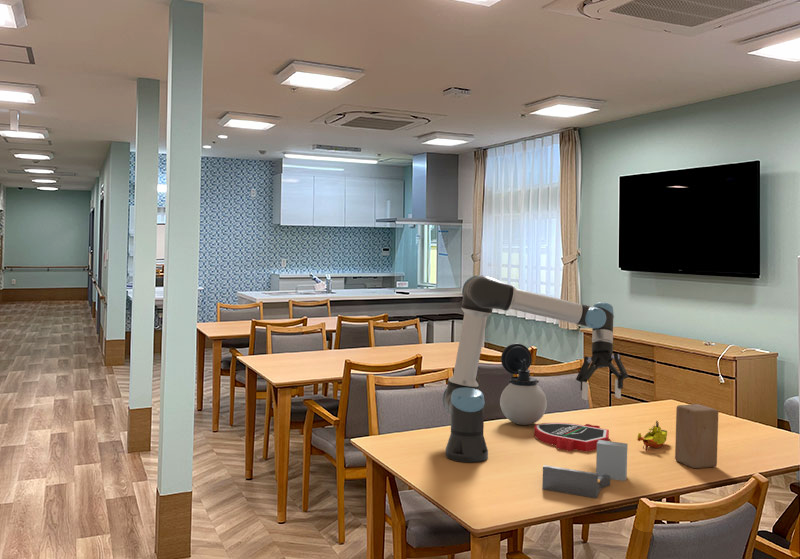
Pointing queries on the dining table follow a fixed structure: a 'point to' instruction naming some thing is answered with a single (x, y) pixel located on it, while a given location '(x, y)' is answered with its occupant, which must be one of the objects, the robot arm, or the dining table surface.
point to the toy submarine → (654, 437)
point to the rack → (573, 481)
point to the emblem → (571, 435)
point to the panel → (611, 459)
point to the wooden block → (696, 435)
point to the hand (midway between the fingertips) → (600, 398)
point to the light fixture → (521, 388)
